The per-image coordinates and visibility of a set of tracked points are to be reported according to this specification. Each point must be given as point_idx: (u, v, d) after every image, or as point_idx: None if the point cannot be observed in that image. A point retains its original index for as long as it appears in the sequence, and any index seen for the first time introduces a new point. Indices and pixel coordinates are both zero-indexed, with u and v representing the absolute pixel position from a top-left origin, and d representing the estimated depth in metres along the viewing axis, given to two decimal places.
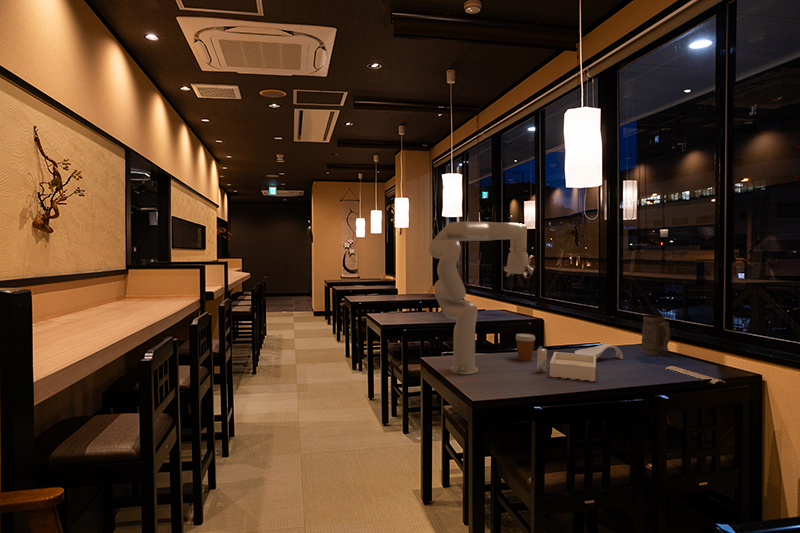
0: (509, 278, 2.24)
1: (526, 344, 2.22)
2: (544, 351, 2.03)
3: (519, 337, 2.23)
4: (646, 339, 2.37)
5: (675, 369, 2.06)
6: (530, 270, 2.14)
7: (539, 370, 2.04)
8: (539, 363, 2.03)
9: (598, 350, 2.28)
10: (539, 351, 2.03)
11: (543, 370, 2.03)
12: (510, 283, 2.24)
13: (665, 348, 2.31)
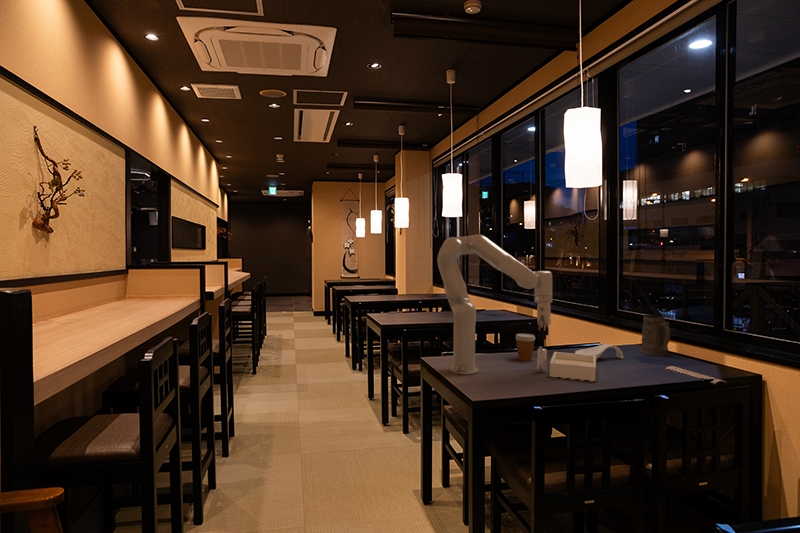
0: None
1: (526, 344, 2.22)
2: (544, 351, 2.03)
3: (519, 337, 2.23)
4: (646, 339, 2.37)
5: (675, 369, 2.06)
6: None
7: (539, 370, 2.04)
8: (539, 363, 2.03)
9: (599, 350, 2.28)
10: (539, 351, 2.03)
11: (543, 370, 2.03)
12: None
13: (665, 348, 2.31)
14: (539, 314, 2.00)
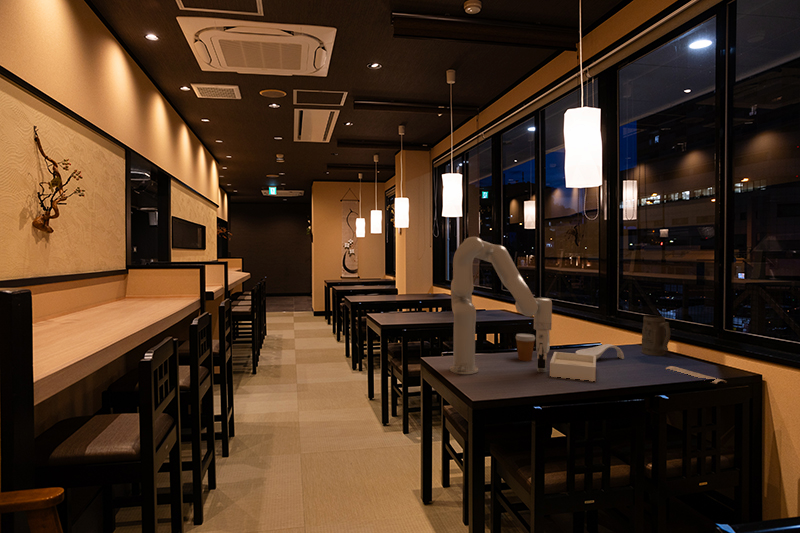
0: None
1: (526, 344, 2.22)
2: None
3: (519, 337, 2.23)
4: (646, 339, 2.37)
5: (675, 369, 2.06)
6: None
7: (539, 370, 2.04)
8: None
9: (599, 350, 2.29)
10: None
11: (543, 370, 2.03)
12: None
13: (665, 348, 2.31)
14: (538, 341, 2.00)
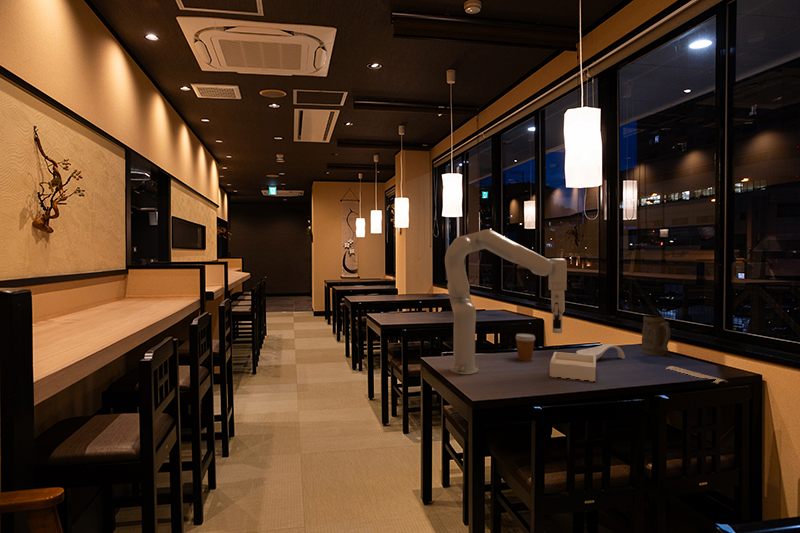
0: None
1: (526, 344, 2.22)
2: None
3: (519, 337, 2.23)
4: (646, 339, 2.37)
5: (676, 369, 2.06)
6: None
7: (555, 331, 2.02)
8: None
9: (600, 350, 2.29)
10: None
11: (559, 331, 2.01)
12: None
13: (665, 348, 2.31)
14: (553, 301, 1.99)
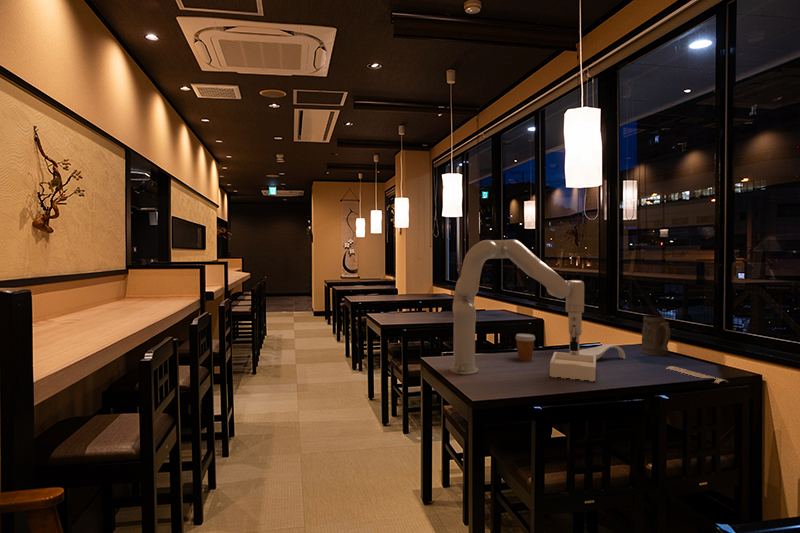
0: None
1: (526, 344, 2.22)
2: None
3: (519, 337, 2.23)
4: (646, 339, 2.37)
5: (676, 369, 2.06)
6: None
7: (572, 353, 2.02)
8: None
9: (600, 350, 2.29)
10: None
11: (576, 353, 2.01)
12: None
13: (665, 348, 2.31)
14: (571, 324, 1.98)
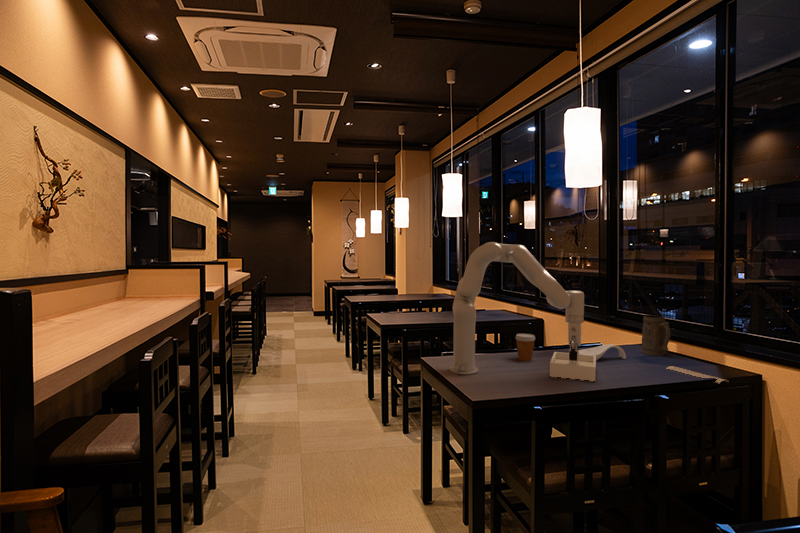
0: None
1: (526, 344, 2.22)
2: None
3: (519, 337, 2.23)
4: (646, 339, 2.37)
5: (676, 369, 2.06)
6: None
7: None
8: None
9: (601, 350, 2.29)
10: None
11: None
12: None
13: (665, 348, 2.31)
14: (570, 334, 1.99)
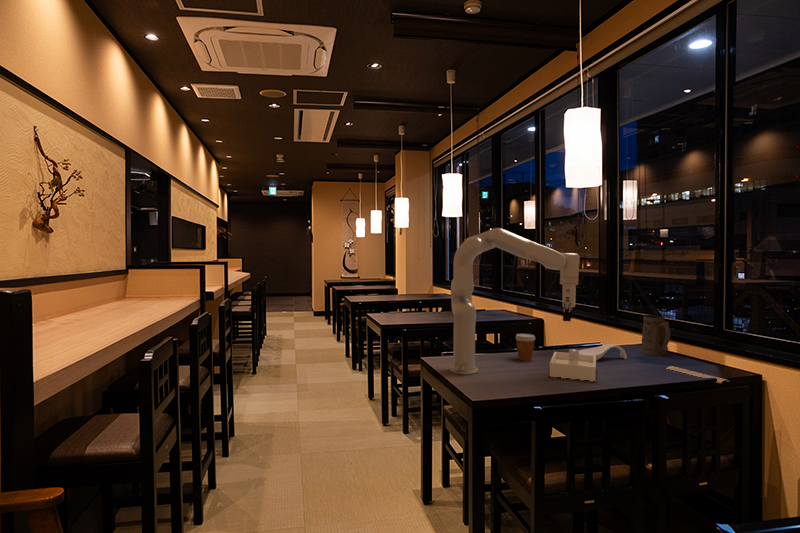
0: None
1: (526, 344, 2.22)
2: (576, 352, 2.01)
3: (519, 337, 2.23)
4: (646, 339, 2.37)
5: (676, 369, 2.06)
6: None
7: None
8: None
9: (602, 350, 2.29)
10: (571, 352, 2.02)
11: None
12: None
13: (665, 348, 2.31)
14: (564, 295, 1.99)
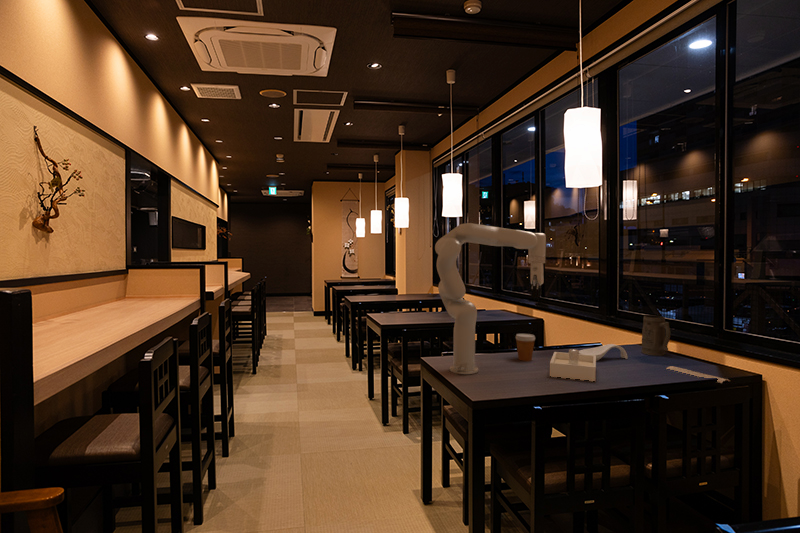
0: None
1: (526, 344, 2.22)
2: (576, 352, 2.01)
3: (519, 337, 2.23)
4: (646, 339, 2.37)
5: (677, 369, 2.06)
6: None
7: None
8: None
9: (602, 350, 2.29)
10: (571, 352, 2.02)
11: None
12: None
13: (665, 348, 2.31)
14: (532, 273, 2.09)
